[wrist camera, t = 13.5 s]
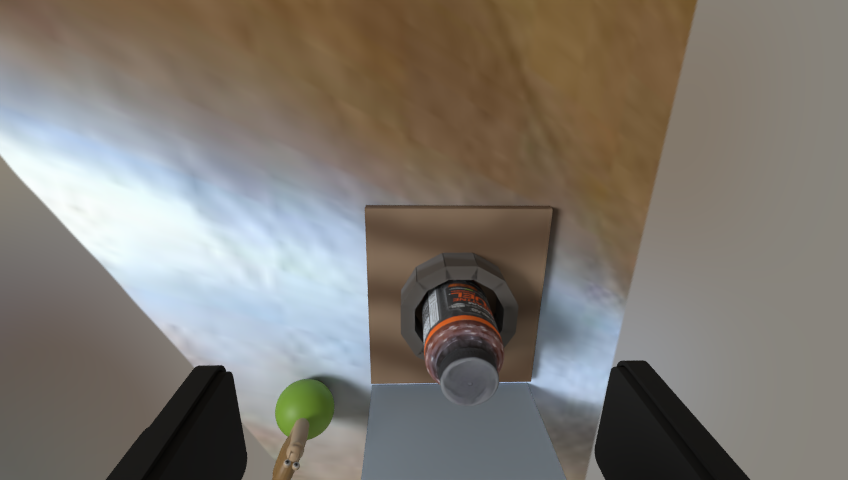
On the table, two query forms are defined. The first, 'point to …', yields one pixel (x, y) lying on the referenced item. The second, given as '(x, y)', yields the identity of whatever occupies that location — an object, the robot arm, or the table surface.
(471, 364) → the supplement bottle
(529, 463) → the grey l-shaped stand
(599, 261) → the table surface
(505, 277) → the socket
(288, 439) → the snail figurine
